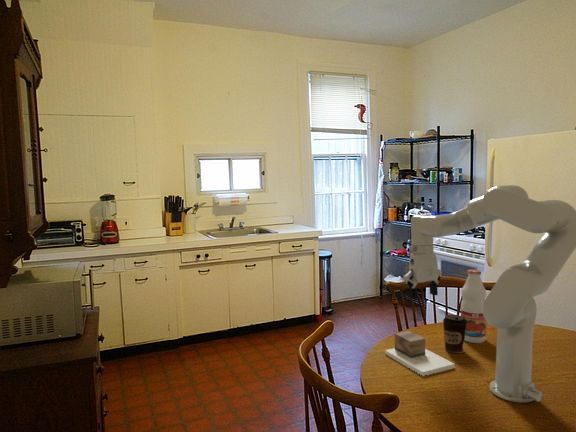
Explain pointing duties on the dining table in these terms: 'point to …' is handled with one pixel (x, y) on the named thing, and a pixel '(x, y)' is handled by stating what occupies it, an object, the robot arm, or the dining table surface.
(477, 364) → the dining table surface
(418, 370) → the board
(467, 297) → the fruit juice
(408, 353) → the block
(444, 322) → the coffee cup
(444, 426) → the dining table surface
